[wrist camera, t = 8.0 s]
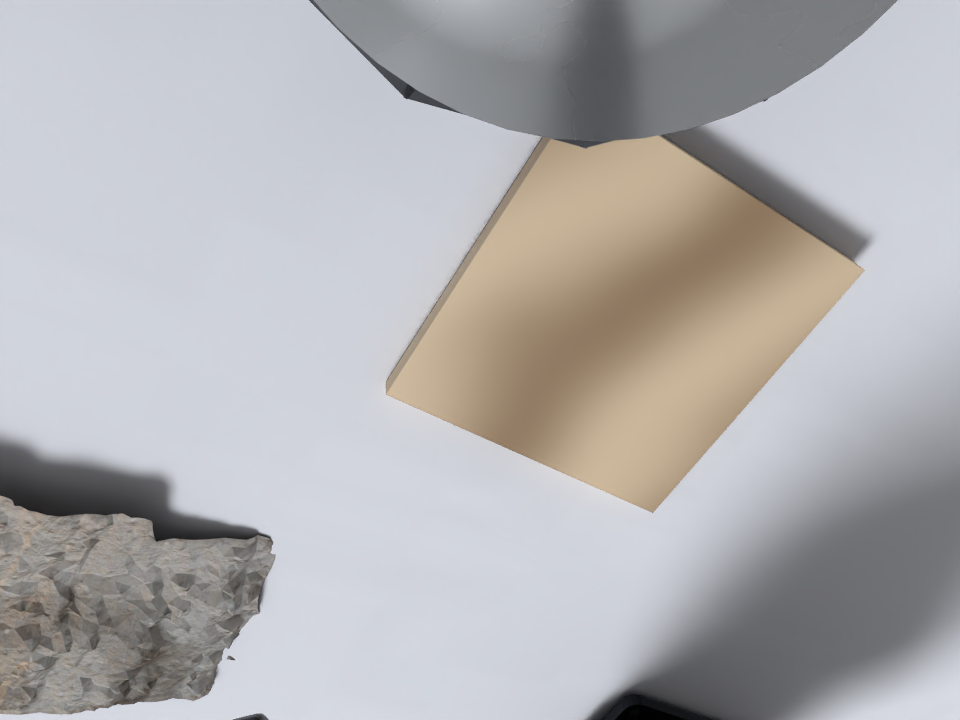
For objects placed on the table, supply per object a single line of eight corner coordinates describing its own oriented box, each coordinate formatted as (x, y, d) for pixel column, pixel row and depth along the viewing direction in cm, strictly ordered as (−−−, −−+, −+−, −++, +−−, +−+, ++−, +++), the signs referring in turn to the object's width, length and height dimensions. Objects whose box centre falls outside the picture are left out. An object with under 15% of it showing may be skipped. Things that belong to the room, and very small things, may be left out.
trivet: (852, 261, 22) (864, 270, 21) (646, 499, 25) (652, 512, 25) (578, 81, 18) (584, 87, 18) (385, 382, 22) (386, 394, 21)
